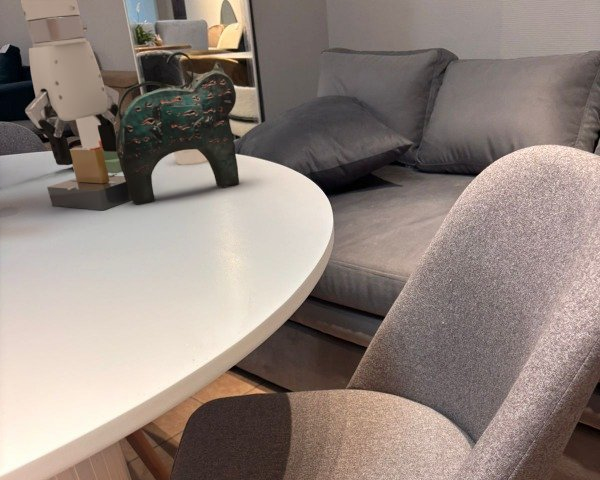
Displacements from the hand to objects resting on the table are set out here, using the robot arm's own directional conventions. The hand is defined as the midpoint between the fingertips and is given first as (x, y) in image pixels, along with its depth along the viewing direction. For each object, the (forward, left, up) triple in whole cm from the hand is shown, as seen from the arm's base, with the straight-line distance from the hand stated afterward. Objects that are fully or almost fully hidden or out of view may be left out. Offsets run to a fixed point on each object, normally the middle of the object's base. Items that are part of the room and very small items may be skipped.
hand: (89, 157), depth 101 cm
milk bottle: (-32, +31, -7) cm, 45 cm away
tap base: (0, 0, -7) cm, 7 cm away
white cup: (-4, +29, -7) cm, 30 cm away
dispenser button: (-18, +21, -3) cm, 28 cm away
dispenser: (-18, +21, -7) cm, 29 cm away
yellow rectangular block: (0, 0, -4) cm, 4 cm away
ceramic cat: (+13, +8, -7) cm, 16 cm away
